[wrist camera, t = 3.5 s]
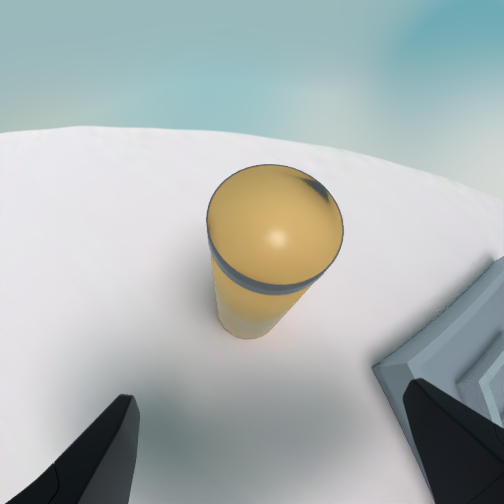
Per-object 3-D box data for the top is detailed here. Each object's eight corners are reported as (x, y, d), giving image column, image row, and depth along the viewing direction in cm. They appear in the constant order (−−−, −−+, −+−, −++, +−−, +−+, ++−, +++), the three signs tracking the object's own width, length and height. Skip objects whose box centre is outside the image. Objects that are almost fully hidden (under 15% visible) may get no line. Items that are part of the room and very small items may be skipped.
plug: (233, 350, 20) (245, 311, 8) (206, 294, 22) (186, 189, 10) (290, 322, 21) (367, 250, 10) (262, 269, 23) (299, 151, 11)
